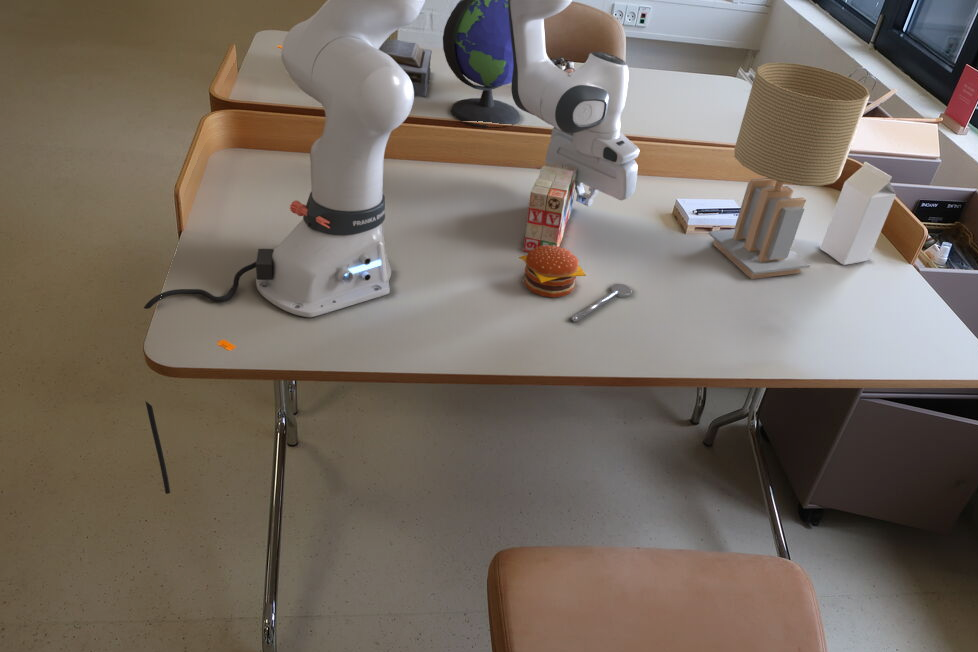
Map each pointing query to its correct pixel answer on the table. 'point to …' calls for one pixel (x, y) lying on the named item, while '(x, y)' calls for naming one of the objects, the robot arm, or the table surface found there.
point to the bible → (411, 62)
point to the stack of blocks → (550, 206)
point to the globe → (481, 58)
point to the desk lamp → (788, 159)
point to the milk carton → (859, 215)
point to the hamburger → (551, 271)
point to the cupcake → (563, 64)
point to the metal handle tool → (605, 300)
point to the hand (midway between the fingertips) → (584, 203)
